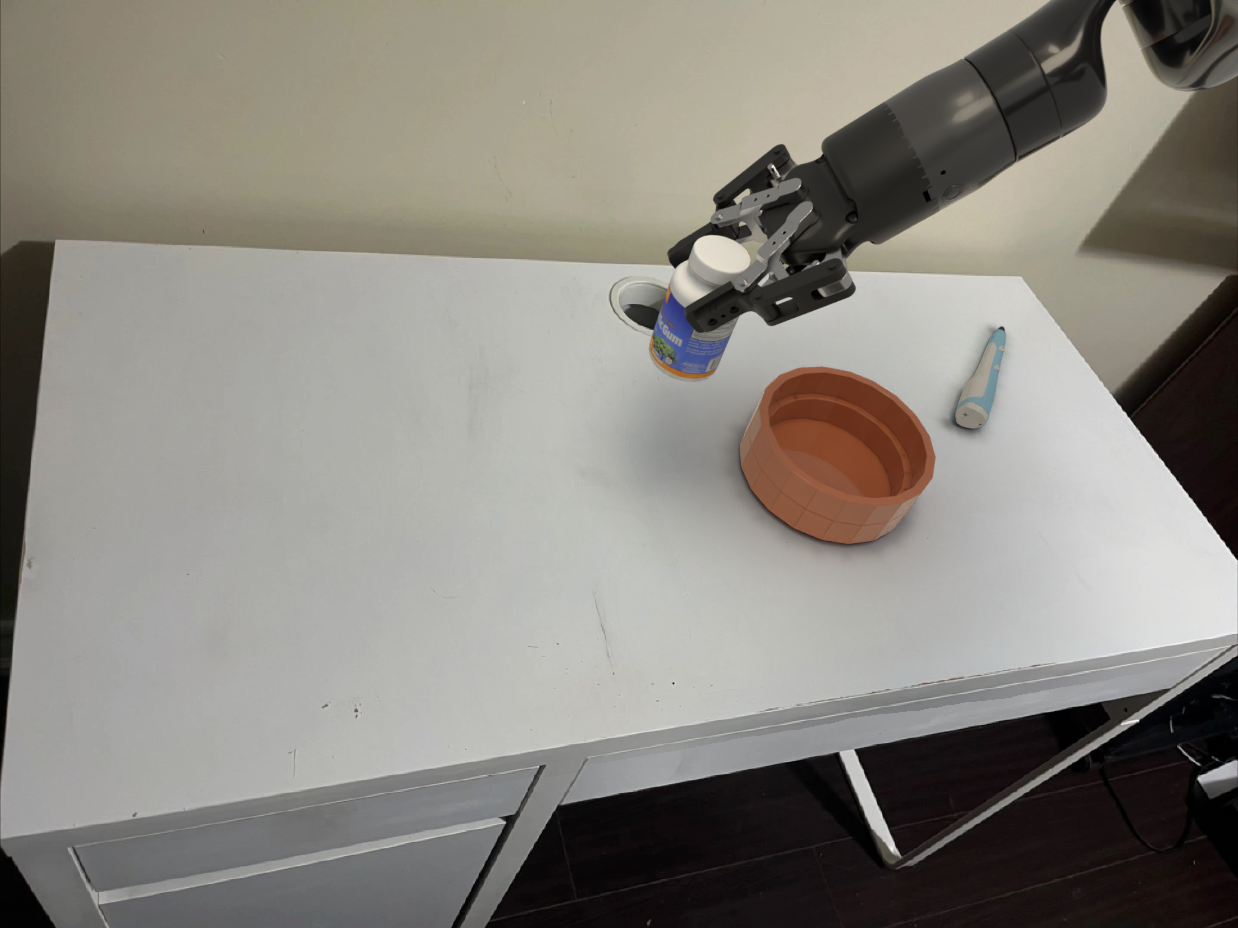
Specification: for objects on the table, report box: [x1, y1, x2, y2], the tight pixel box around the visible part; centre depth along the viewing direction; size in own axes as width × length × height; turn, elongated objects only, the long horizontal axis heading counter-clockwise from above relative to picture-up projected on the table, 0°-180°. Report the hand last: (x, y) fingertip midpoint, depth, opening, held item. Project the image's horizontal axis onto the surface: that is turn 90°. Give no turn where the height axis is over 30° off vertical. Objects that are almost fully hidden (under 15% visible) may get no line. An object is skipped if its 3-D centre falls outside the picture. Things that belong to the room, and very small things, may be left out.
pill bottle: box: [648, 235, 752, 383], centre depth 60 cm, size 5×5×10 cm
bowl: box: [739, 365, 936, 545], centre depth 75 cm, size 16×16×6 cm
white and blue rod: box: [954, 325, 1007, 430], centre depth 91 cm, size 19×3×3 cm, turn 152°
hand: (682, 292), depth 59 cm, fingers closed on pill bottle, 5 cm apart
